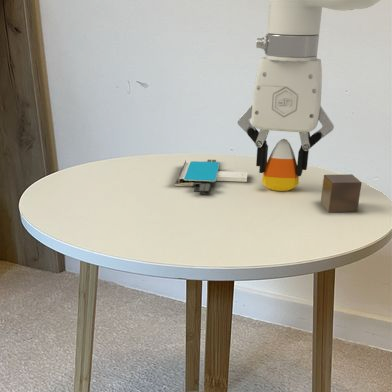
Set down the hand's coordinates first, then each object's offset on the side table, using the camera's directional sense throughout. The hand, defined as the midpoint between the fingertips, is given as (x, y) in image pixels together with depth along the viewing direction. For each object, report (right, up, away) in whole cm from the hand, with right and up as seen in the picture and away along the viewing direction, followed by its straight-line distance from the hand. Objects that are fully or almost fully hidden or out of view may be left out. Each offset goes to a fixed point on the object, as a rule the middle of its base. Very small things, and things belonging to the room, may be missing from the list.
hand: (281, 171), depth 97 cm
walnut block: (+8, -7, -6) cm, 12 cm away
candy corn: (0, -3, +2) cm, 3 cm away
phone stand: (-11, +1, +7) cm, 13 cm away
